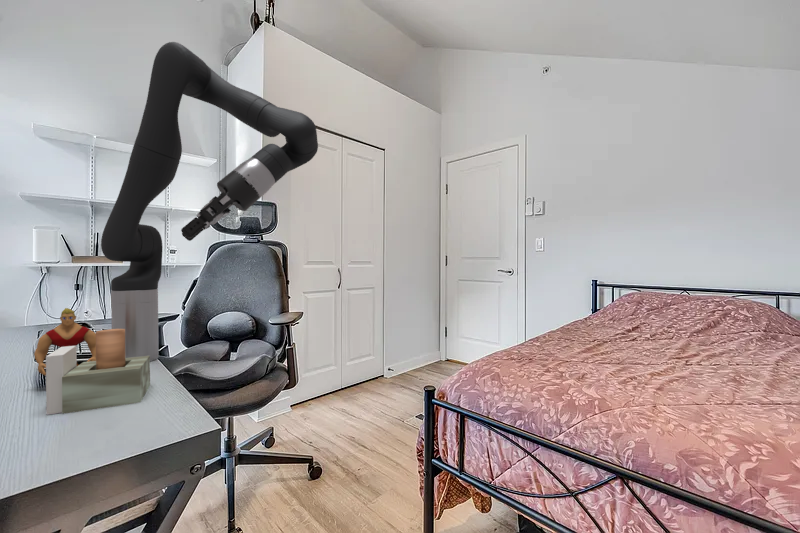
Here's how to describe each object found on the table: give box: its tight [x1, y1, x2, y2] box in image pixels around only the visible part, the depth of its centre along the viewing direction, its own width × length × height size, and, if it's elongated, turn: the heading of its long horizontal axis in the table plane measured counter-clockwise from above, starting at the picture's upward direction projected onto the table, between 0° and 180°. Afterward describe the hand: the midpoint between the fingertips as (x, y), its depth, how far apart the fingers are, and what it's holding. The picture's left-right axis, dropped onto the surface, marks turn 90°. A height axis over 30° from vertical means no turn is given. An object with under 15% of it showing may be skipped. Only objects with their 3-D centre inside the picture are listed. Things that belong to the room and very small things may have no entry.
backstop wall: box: [45, 346, 78, 416], centre depth 60 cm, size 8×2×9 cm, turn 30°
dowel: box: [95, 328, 125, 370], centre depth 64 cm, size 4×4×10 cm
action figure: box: [33, 307, 96, 376], centre depth 71 cm, size 10×4×15 cm, turn 129°
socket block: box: [61, 356, 151, 414], centre depth 64 cm, size 10×10×6 cm
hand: (185, 236), depth 72 cm, fingers open, 8 cm apart
